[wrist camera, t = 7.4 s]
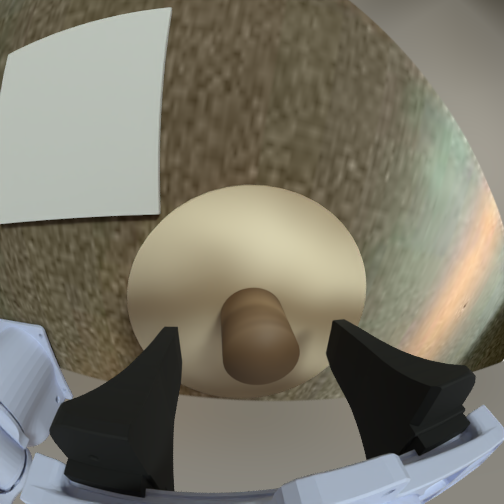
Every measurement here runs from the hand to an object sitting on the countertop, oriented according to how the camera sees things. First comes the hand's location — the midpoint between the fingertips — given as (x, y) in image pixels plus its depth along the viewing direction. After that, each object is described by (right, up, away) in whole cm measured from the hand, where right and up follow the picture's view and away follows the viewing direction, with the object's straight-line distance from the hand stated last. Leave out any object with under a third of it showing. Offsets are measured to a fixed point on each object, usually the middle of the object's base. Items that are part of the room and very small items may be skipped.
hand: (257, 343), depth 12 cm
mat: (-14, +14, +2) cm, 19 cm away
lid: (0, +1, +3) cm, 3 cm away
